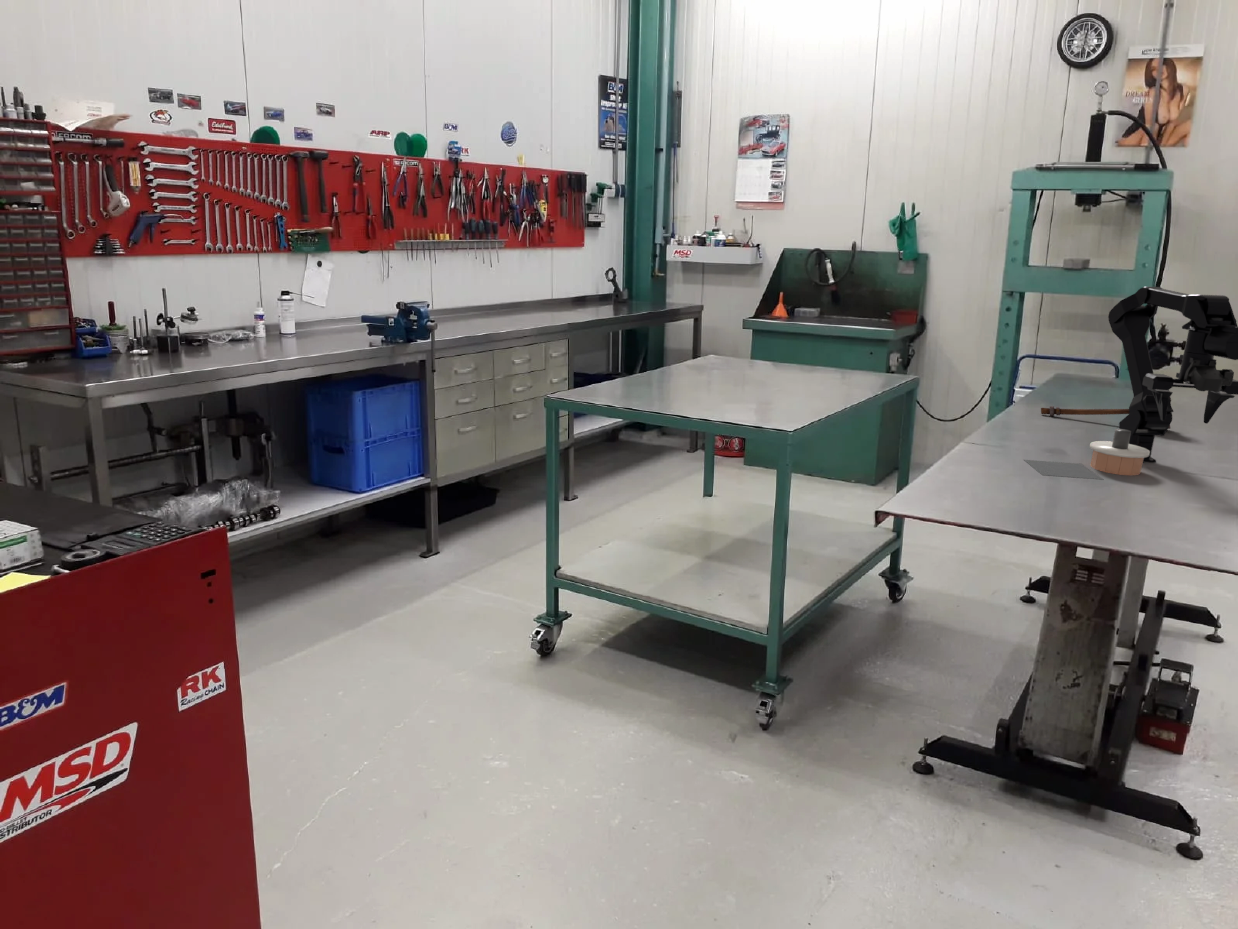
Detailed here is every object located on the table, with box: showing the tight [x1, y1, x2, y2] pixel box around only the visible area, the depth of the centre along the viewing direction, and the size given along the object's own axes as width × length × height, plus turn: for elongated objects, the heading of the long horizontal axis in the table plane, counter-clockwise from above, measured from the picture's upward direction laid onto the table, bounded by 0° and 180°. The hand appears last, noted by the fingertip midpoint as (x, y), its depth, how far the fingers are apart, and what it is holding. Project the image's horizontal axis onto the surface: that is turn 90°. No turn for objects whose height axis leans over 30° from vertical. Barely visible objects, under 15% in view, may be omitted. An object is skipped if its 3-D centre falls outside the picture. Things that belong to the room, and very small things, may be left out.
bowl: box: [1089, 450, 1144, 476], centre depth 206 cm, size 10×10×4 cm
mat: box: [1023, 459, 1105, 481], centre depth 204 cm, size 13×13×1 cm
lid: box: [1089, 428, 1150, 458], centre depth 205 cm, size 12×12×5 cm
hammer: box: [1040, 396, 1173, 430], centre depth 257 cm, size 7×33×10 cm, turn 62°
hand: (1184, 421), depth 203 cm, fingers open, 9 cm apart
